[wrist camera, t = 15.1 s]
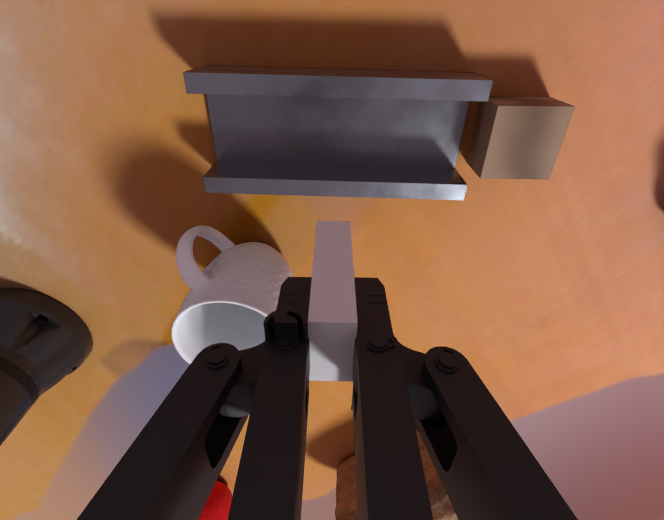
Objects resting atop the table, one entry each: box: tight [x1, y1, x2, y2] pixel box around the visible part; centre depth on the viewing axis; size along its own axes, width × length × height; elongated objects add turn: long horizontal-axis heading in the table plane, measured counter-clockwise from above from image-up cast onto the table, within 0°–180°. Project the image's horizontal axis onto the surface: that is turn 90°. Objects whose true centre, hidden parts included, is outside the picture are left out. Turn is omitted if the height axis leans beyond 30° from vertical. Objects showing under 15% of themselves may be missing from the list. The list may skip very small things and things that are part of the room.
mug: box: [171, 225, 293, 364], centre depth 38 cm, size 15×11×13 cm
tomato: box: [198, 481, 232, 520], centre depth 72 cm, size 13×14×12 cm
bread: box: [335, 429, 458, 520], centre depth 61 cm, size 12×31×14 cm, turn 132°
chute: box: [183, 65, 493, 200], centre depth 32 cm, size 24×10×5 cm, turn 89°
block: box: [467, 96, 575, 179], centre depth 33 cm, size 6×6×4 cm
